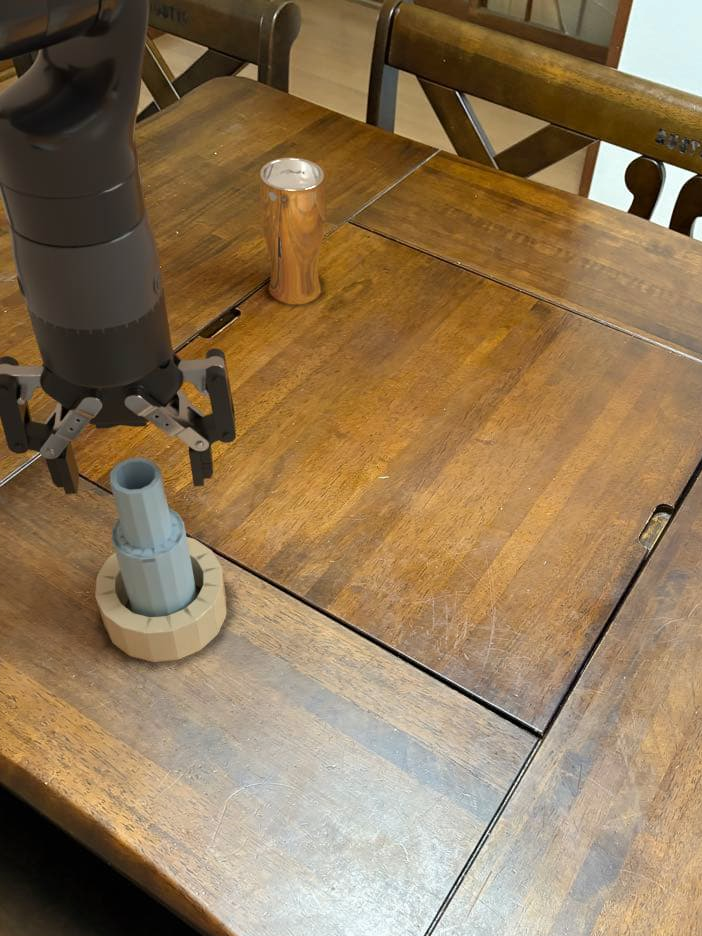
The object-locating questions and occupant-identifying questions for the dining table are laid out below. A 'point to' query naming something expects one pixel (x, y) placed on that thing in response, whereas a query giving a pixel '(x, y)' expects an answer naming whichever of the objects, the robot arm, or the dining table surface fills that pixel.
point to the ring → (166, 632)
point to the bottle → (150, 541)
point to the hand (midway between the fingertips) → (136, 481)
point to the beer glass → (293, 226)
